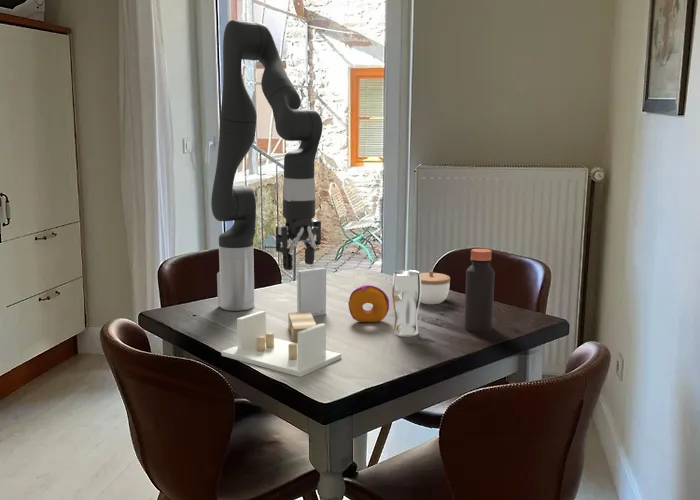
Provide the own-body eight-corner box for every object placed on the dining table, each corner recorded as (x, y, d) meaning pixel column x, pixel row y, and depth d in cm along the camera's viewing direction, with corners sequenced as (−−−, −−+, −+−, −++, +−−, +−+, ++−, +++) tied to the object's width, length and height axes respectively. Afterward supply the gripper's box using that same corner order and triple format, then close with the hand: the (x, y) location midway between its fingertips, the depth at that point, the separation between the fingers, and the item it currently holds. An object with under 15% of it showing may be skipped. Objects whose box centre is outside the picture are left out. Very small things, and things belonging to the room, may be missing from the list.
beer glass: (400, 339, 165) (402, 277, 163) (386, 331, 172) (387, 271, 169) (425, 335, 169) (427, 274, 166) (410, 327, 175) (411, 268, 172)
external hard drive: (326, 314, 187) (326, 268, 184) (299, 318, 182) (299, 271, 180) (323, 312, 188) (323, 267, 186) (296, 317, 183) (296, 270, 181)
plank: (288, 328, 175) (288, 312, 174) (310, 327, 176) (310, 311, 175) (294, 345, 161) (293, 328, 161) (317, 344, 162) (317, 327, 161)
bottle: (474, 324, 178) (478, 246, 174) (497, 330, 173) (501, 250, 170) (458, 329, 173) (461, 250, 170) (481, 335, 169) (484, 254, 165)
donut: (360, 317, 184) (360, 279, 182) (392, 322, 180) (392, 284, 178) (345, 324, 177) (345, 285, 176) (377, 330, 173) (378, 290, 171)
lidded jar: (455, 302, 200) (456, 269, 199) (439, 310, 191) (440, 276, 190) (421, 296, 206) (422, 265, 204) (404, 304, 197) (405, 271, 195)
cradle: (221, 355, 153) (220, 320, 151) (264, 339, 164) (264, 306, 163) (300, 376, 141) (300, 338, 139) (341, 358, 152) (341, 322, 150)
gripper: (305, 193, 170) (305, 260, 173) (266, 198, 159) (266, 269, 162) (330, 196, 166) (329, 264, 169) (291, 201, 154) (291, 274, 158)
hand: (298, 266), depth 165 cm, fingers open, 7 cm apart
